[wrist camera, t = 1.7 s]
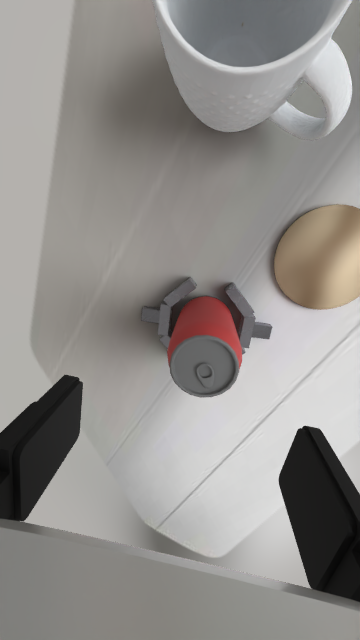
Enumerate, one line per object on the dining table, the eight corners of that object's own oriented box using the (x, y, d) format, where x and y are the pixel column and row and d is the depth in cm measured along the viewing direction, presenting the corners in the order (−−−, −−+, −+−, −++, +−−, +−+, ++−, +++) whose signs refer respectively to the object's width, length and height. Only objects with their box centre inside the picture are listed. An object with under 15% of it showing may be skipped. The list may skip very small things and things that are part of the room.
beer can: (185, 349, 33) (174, 408, 22) (173, 301, 31) (153, 338, 20) (236, 340, 32) (252, 397, 21) (226, 289, 30) (237, 321, 19)
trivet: (397, 211, 26) (401, 211, 25) (360, 314, 29) (363, 315, 29) (287, 199, 26) (289, 198, 26) (264, 301, 30) (265, 302, 29)
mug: (349, 99, 23) (507, -55, 11) (264, 202, 27) (312, 173, 14) (227, -26, 22) (252, -372, 9) (152, 101, 25) (98, -30, 13)
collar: (278, 288, 29) (283, 292, 27) (259, 367, 33) (262, 375, 31) (146, 270, 30) (142, 273, 28) (140, 349, 34) (137, 356, 32)
